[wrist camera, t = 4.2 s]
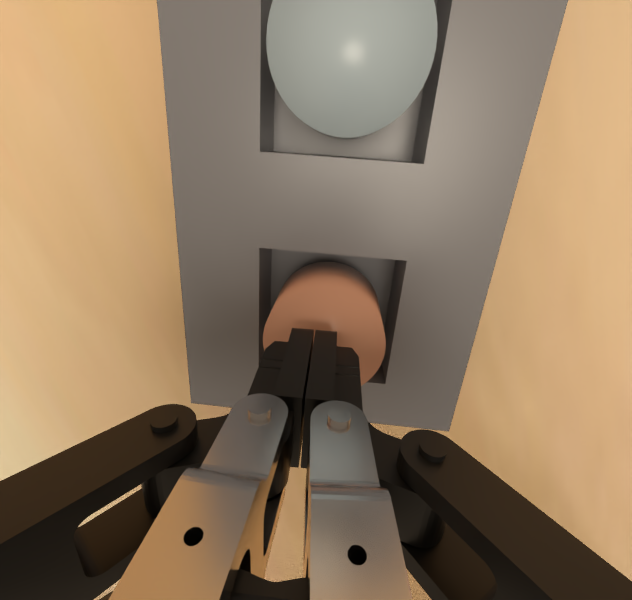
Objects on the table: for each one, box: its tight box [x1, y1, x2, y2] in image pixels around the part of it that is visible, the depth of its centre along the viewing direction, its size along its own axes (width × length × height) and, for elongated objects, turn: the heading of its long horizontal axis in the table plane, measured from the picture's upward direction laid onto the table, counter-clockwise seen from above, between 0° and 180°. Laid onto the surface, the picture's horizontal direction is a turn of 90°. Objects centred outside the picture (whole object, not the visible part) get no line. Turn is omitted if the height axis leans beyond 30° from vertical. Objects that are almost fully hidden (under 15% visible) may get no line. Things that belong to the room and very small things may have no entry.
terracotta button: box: [263, 262, 386, 386], centre depth 14 cm, size 4×4×3 cm
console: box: [157, 0, 568, 431], centre depth 13 cm, size 12×28×3 cm, turn 176°
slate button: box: [266, 0, 437, 139], centre depth 11 cm, size 4×4×3 cm
